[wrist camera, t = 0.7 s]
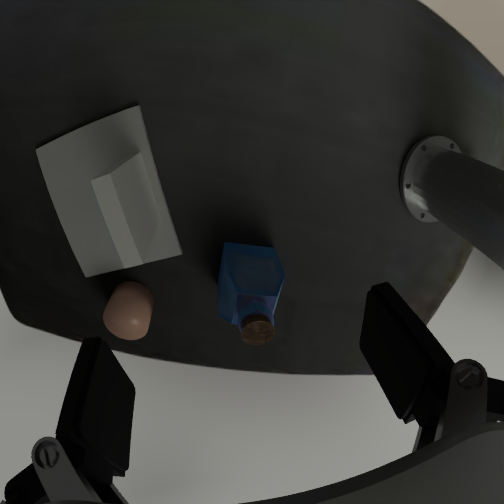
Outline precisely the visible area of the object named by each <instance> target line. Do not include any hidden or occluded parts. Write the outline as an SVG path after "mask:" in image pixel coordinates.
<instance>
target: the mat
mask: <svg viewBox="0 0 504 504" xmlns="http://www.w3.org/2000/svg"><path fill="white" fill-rule="evenodd" d="M138 152H141V154H142V158H143V162H144V165H145V168H146V172H147V175H148V179H149V182H150V185H151V188H152V192H153V195H154V198H155V201H156V204H157V208H158V211H159V214H160V217H161V220H160V223H159V225H158V228H157V230H156V232H155V235H154V237H153V240H152V242H151V245H150V247H149V250H148V252H147V255H146V258H145V260H144V263H148V262H152V261H156V260H160V259H165V258H169V257H173V256H177V255H182V250H181V247H180V244H179V241H178V238H177V235H176V232H175V229H174V225H173V222H172V219H171V216H170V213H169V210H168V206H167V203H166V200H165V197H164V193H163V190H162V187H161V183H160V180H159V177H158V173H157V170H156V166H155V163H154V159H153V155H152V152H151V148H150V144H149V141H148V137H147V133H146V129H145V125H144V121H143V117H142V113H141V109H140V105H138V106H135V107H132V108H129V109H126V110H124V111H121V112H118V113H115V114H113V115H110V116H108V117H105V118H103V119H100V120H98V121H95V122H93V123H90V124H88V125H86V126H83V127H81V128H79V129H77V130H74V131H72V132H70V133H68V134H66V135H64V136H62V137H60V138H58V139H56V140H54V141H52V142H50V143H48V144H46V145H44V146H42V147H40V148H38V149H36V153H37V156H38V160H39V163H40V166H41V169H42V173H43V176H44V179H45V182H46V185H47V187H48V190H49V193H50V196H51V199H52V201H53V204H54V207H55V209H56V212H57V214H58V217H59V219H60V222H61V224H62V227H63V229H64V231H65V234H66V236H67V238H68V241H69V243H70V245H71V247H72V250H73V252H74V254H75V256H76V258H77V260H78V262H79V264H80V267H81V269H82V271H83V273H84V275H85V277H90V276H94V275H98V274H102V273H106V272H110V271H114V270H119V269H123V268H124V266H123V264H122V263H121V261H120V258H119V256H118V254H117V251H116V249H115V247H114V244H113V242H112V239H111V237H110V234H109V232H108V229H107V227H106V224H105V222H104V219H103V216H102V214H101V211H100V208H99V206H98V203H97V200H96V197H95V195H94V192H93V189H92V186H91V180H92V179H93V178H95V177H96V176H98V175H99V174H100V173H102V172H103V171H105V170H106V169H108V168H109V167H111V166H112V165H114V164H115V163H117V162H118V161H120V160H121V159H123V158H124V157H126V156H129V155H132V154H135V153H138ZM144 263H143V264H144Z"/></svg>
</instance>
